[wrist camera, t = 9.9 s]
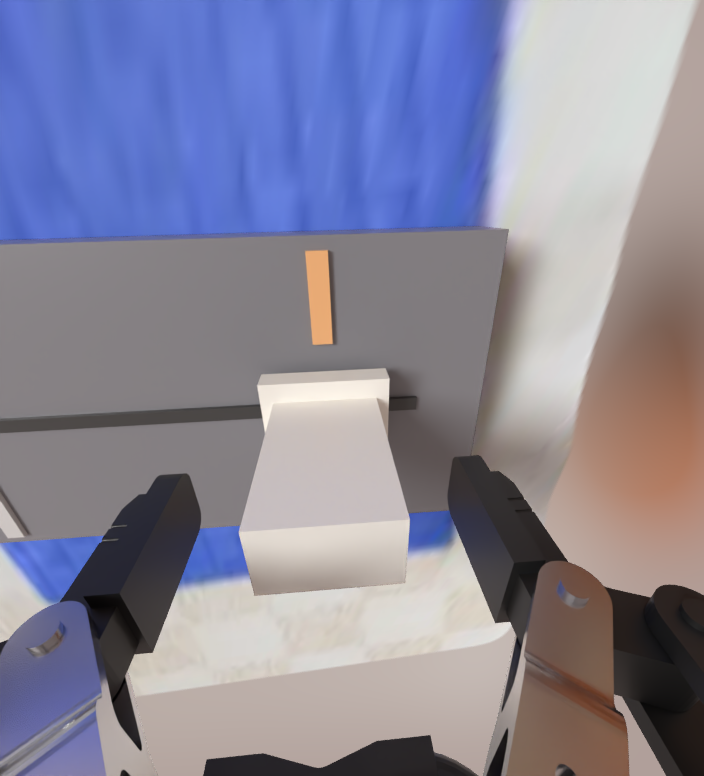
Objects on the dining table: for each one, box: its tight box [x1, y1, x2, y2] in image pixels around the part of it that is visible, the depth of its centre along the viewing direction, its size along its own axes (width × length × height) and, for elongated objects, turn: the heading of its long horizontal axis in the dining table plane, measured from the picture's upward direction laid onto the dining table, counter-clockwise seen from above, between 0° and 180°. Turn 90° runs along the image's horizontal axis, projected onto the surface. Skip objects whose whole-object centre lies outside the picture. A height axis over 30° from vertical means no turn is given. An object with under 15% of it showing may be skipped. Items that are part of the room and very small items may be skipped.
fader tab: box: [239, 368, 410, 596], centre depth 12 cm, size 4×5×7 cm
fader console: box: [0, 226, 509, 543], centre depth 16 cm, size 14×30×3 cm, turn 91°
